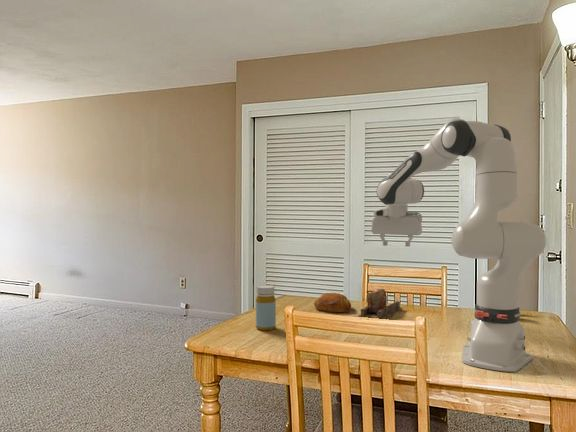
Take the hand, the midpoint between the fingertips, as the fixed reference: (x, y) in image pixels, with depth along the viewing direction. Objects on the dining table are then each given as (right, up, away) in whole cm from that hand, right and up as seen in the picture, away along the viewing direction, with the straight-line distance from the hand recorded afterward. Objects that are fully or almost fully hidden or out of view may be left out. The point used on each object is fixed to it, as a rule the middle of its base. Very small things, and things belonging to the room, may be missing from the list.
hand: (396, 245), depth 189 cm
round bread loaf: (-25, -27, +6) cm, 37 cm away
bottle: (-52, -28, -24) cm, 64 cm away
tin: (-8, -26, -2) cm, 28 cm away
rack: (-7, -27, -3) cm, 28 cm away
